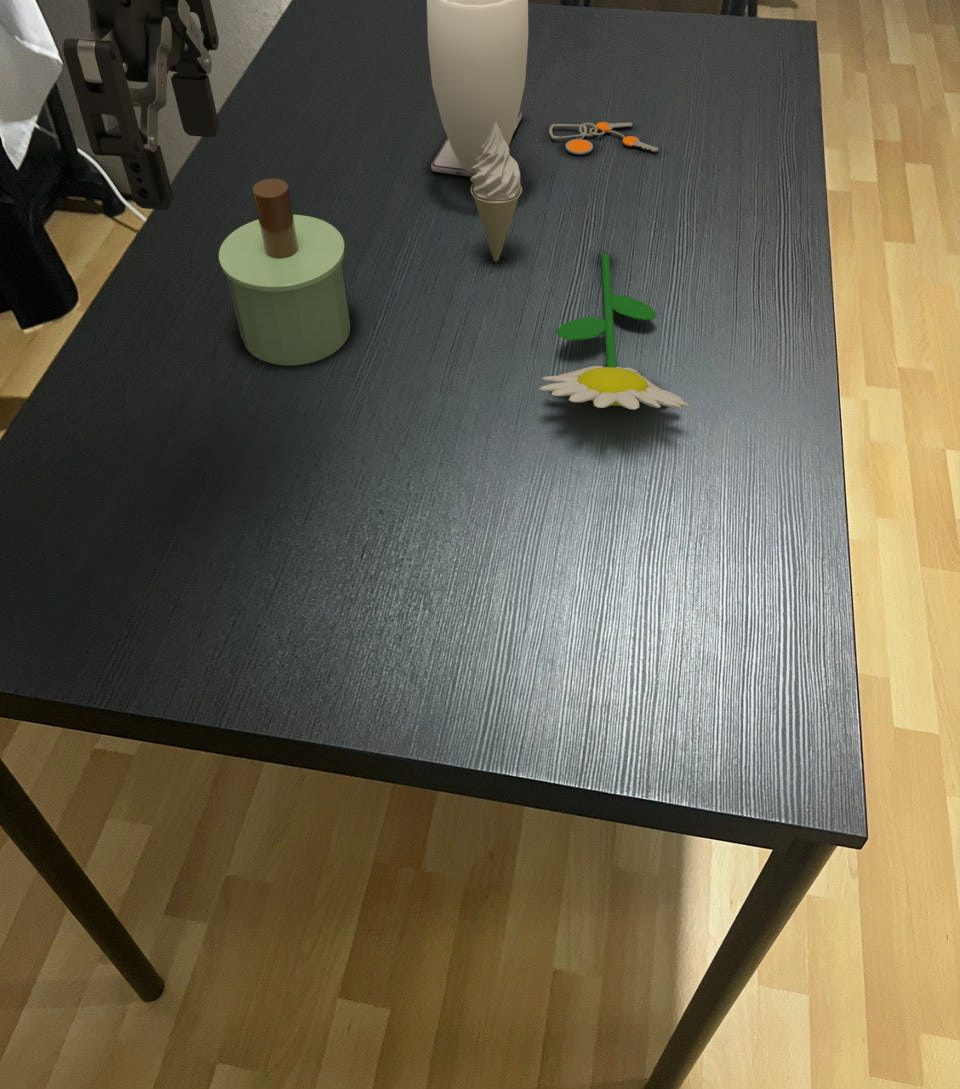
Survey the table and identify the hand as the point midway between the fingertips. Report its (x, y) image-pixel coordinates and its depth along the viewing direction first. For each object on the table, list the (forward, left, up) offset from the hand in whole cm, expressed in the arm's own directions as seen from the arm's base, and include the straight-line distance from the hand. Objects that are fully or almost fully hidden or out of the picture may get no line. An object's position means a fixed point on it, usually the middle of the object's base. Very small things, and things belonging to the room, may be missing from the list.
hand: (180, 168), depth 62 cm
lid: (+16, +12, -20) cm, 28 cm away
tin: (+16, +12, -28) cm, 34 cm away
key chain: (+64, +9, -28) cm, 70 cm away
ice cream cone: (+37, +4, -28) cm, 47 cm away
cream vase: (+47, +14, -28) cm, 57 cm away
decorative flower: (+32, -13, -28) cm, 45 cm away
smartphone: (+54, +20, -28) cm, 64 cm away
